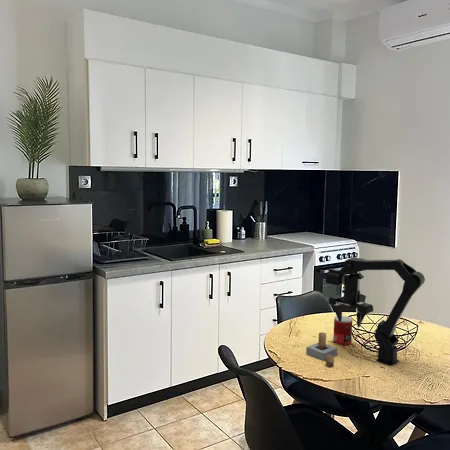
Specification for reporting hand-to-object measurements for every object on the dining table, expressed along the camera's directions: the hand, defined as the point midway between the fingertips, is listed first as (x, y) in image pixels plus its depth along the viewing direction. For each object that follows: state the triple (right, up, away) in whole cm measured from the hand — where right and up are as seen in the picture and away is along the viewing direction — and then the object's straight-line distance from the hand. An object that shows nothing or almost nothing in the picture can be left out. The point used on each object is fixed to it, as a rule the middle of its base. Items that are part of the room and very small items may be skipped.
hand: (349, 324), depth 199 cm
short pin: (-11, -14, -13) cm, 22 cm away
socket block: (-12, -12, -2) cm, 17 cm away
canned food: (0, -11, +12) cm, 16 cm away
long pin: (-12, -12, -2) cm, 17 cm away
